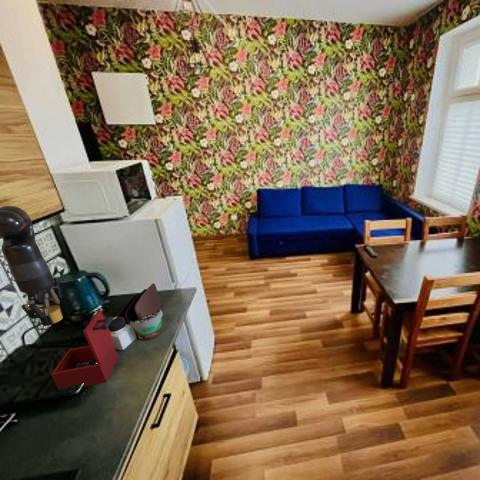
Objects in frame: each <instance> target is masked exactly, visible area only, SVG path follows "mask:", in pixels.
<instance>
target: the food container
mask: <svg viewBox="0 0 480 480" xmlns="http://www.w3.org/2000/svg"><path fill="white" fill-rule="evenodd" d="M163 315H164V313H163V311H162V308H160V307H159V308H158V310H157V311H156V312H154V313H152V314H148V315H146V316H144V317H142V318H140V319H138V320H136V321H133V322H131V321H130V326H131V327H133V328H134V330H135V334H136V336H137V338H138V339H139V340H141V341H150V340H154V339H156V338H157V337H159V336H160V335H161V334H162V333H163V332H164V331H163V330H164V328H163V319H162V317H163Z"/></svg>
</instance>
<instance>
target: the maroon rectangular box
mask: <svg viewBox="0 0 480 480" xmlns="http://www.w3.org/2000/svg"><path fill="white" fill-rule="evenodd" d="M118 359H119V355H118V353H117V349H115V347H114V345H113V342H112V343H111V345H110V347H109V348H108V350H107V352H106V354H105V356H104V358H103V360H102V361H101V363H100V364H94V365H89V366H84V367H79V368H75V367H76V365H77V364H79V363H83V362H88V361H93V360H96V359H95V357H94V355H93V352H92V350H91V348H90V346H89V345H84V346H78V347H74V348H69V349H68V350H67V352H66V353H65V354H64V355H63V357H62V358H61V360H60V361H59V363H58V364H57V365H56V367H55V368H54V369H53V371H52V373H50V376H51V378H52V379H53V381H54V382H53V383H55V385H56V388H57V389H58V390H59V388H64V387H70V386H74V385H78V384H81V383H84V387H85V388H86V387H90V386H94V385H98V384H103V383H104V384H105V383H107V382H108V380H109V378H110V377H111V374H112V372H113V369H114V367H115V365H116V363H117V362H118ZM84 387H83V388H84Z"/></svg>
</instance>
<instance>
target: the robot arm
mask: <svg viewBox="0 0 480 480" xmlns="http://www.w3.org/2000/svg"><path fill="white" fill-rule="evenodd" d="M0 238H2V245H1V253H2V255H3V257H4V259H5V261H6V263H7V265H8V268H9V272H10V274H11V276H12V277H13V280H14V282H15V284H16V286H17V288H18V290H19V291H20V293H23V294H26V296H27V300H28V301H27V302H26V303H25V304H22V305H21V309H22V310H23V311H24V312H25V314H26V315H27V316H28V317H29V318H30V319H31V320H35V319H39V321H40V323H41V325H42V326H43V327H48V326H52V325H53V324H52V323H53V321H52V319H51V317H50V315H49V314H48V307H49V306H54V305H58V306H59V307H60V308H59V309H60V311H61V314H63V310H62V307H61V305H60V303H61V301H60V300H62V298H63V294H62V290H61V285H60V282H59V281H55V279H54V277H53V274H52V271H51V270H50V267H49V265H48V263H47V261H46V259H45V258H44V256H43V255H42V251H41V249H40V247H39V245H38V243H37V241H36V240H37V239H36V234H35V229H34V225H33V221H32V219H31V217H30V216H29V214H28V213H27V212H26V211H25V210H24V209H23V208H21V207H19V206H15V205H4V206H1V207H0ZM42 309H43V312H41V310H42Z"/></svg>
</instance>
